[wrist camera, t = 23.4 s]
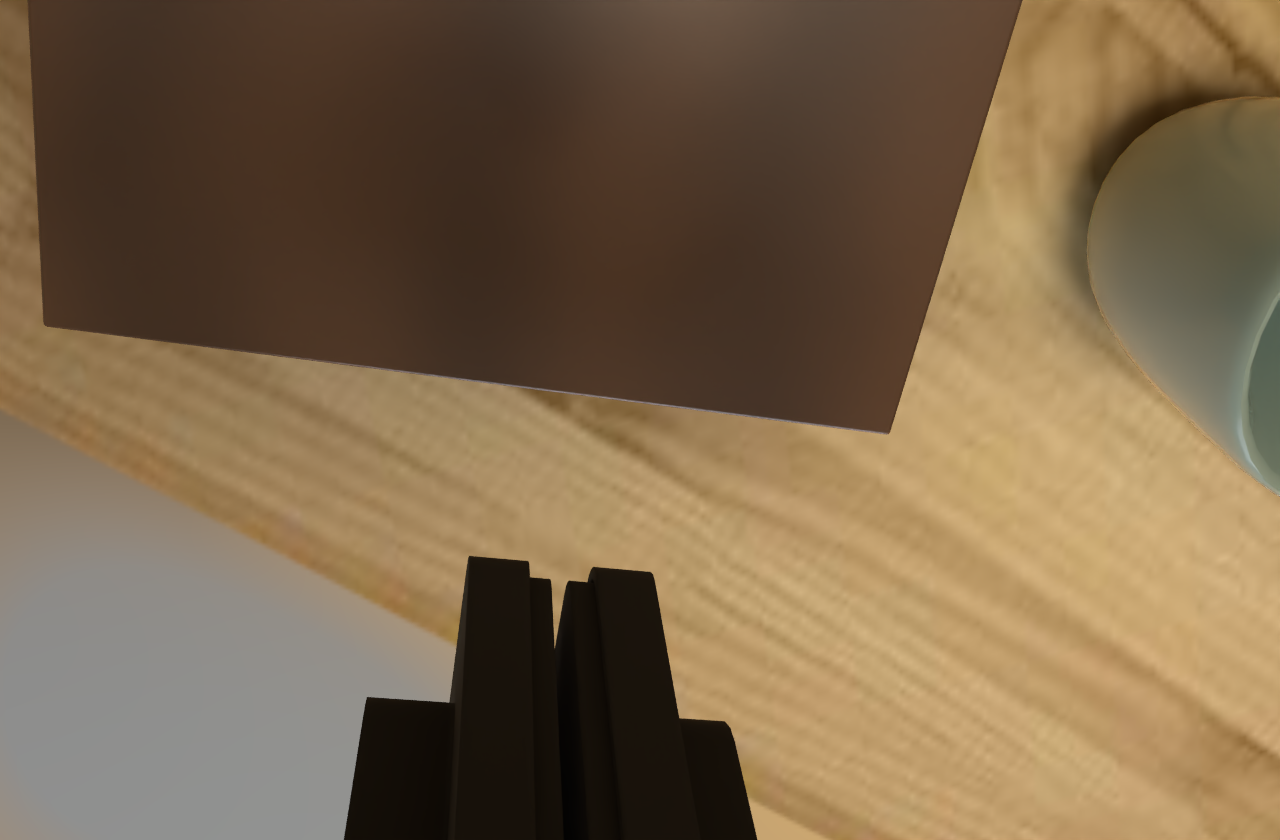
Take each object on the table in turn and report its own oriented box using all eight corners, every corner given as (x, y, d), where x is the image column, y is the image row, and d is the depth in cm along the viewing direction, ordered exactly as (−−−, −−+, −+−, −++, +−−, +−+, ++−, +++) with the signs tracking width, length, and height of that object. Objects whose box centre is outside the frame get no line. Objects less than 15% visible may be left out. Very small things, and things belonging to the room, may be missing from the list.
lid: (1085, -262, 20) (1105, -265, 19) (880, 418, 25) (889, 436, 24) (22, -497, 17) (0, -510, 16) (57, 311, 23) (41, 328, 22)
